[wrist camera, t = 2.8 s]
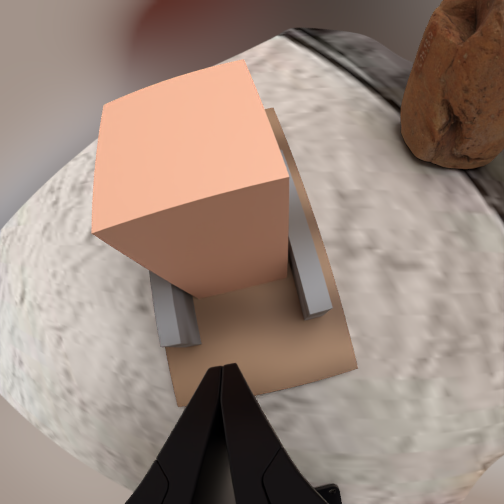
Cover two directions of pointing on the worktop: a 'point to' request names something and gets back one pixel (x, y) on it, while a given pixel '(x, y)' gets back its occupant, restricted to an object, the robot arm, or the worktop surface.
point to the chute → (262, 314)
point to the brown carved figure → (458, 86)
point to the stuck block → (194, 182)
